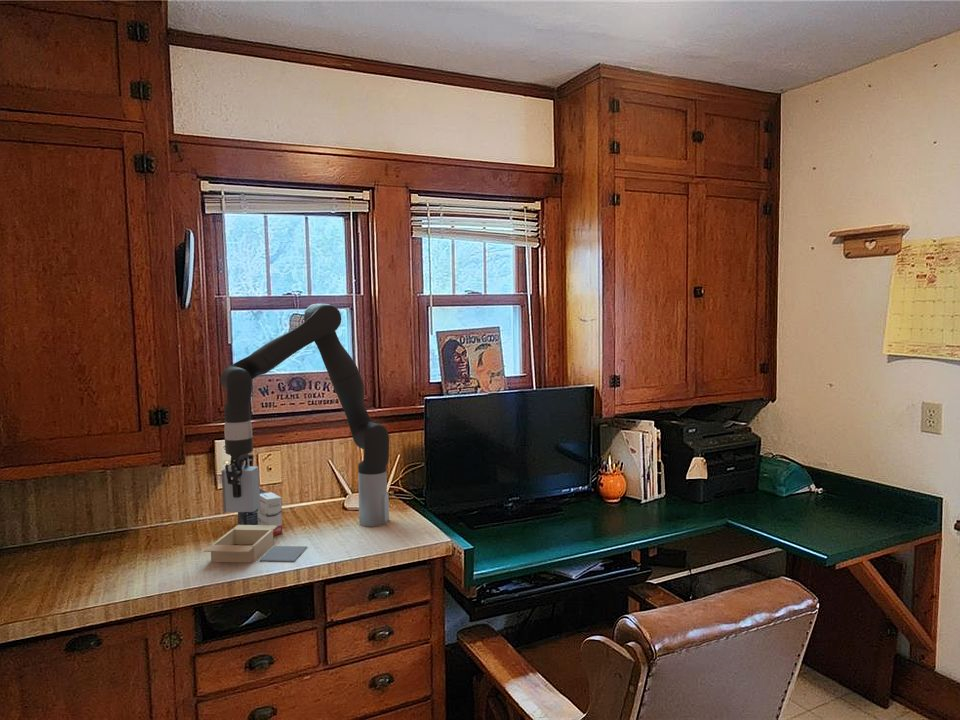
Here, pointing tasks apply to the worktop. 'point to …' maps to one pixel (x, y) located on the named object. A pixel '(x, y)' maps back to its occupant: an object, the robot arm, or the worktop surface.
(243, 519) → the box
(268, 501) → the ink box
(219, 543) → the beige shallow rectangular tray
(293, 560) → the mat
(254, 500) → the box
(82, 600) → the worktop surface
